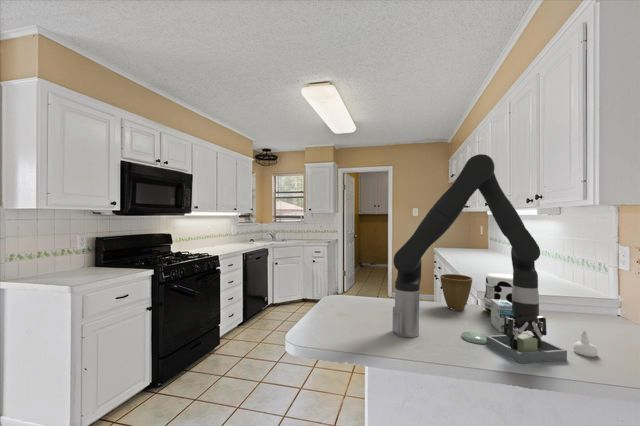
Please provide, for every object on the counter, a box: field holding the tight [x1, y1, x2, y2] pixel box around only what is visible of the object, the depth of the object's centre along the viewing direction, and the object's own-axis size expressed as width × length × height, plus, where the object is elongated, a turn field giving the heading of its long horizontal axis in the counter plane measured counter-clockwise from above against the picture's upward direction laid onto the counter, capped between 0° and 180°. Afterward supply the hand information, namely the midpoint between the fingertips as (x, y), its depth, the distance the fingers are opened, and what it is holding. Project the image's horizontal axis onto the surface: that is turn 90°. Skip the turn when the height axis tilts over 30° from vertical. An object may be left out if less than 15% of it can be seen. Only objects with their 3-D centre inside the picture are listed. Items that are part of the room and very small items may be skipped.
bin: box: [486, 334, 568, 364], centre depth 105 cm, size 18×15×3 cm
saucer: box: [461, 331, 488, 345], centre depth 116 cm, size 10×10×1 cm
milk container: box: [482, 273, 513, 314], centre depth 147 cm, size 17×17×18 cm
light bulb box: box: [490, 299, 518, 334], centre depth 127 cm, size 11×7×11 cm, turn 168°
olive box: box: [516, 334, 538, 353], centre depth 103 cm, size 5×5×6 cm
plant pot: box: [439, 273, 473, 311], centre depth 155 cm, size 15×15×16 cm
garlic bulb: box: [572, 330, 599, 358], centre depth 105 cm, size 6×6×8 cm
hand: (525, 348), depth 102 cm, fingers open, 8 cm apart
